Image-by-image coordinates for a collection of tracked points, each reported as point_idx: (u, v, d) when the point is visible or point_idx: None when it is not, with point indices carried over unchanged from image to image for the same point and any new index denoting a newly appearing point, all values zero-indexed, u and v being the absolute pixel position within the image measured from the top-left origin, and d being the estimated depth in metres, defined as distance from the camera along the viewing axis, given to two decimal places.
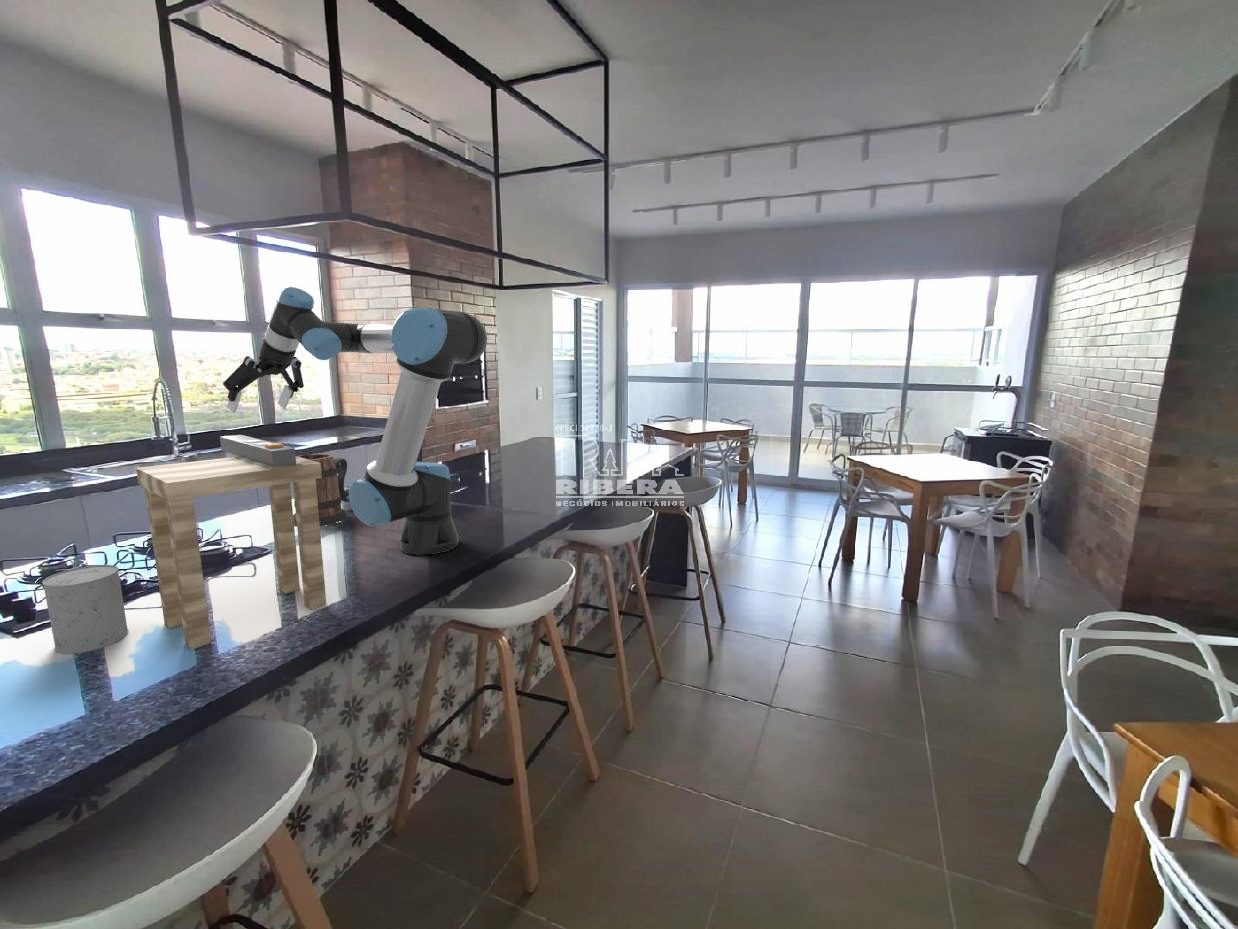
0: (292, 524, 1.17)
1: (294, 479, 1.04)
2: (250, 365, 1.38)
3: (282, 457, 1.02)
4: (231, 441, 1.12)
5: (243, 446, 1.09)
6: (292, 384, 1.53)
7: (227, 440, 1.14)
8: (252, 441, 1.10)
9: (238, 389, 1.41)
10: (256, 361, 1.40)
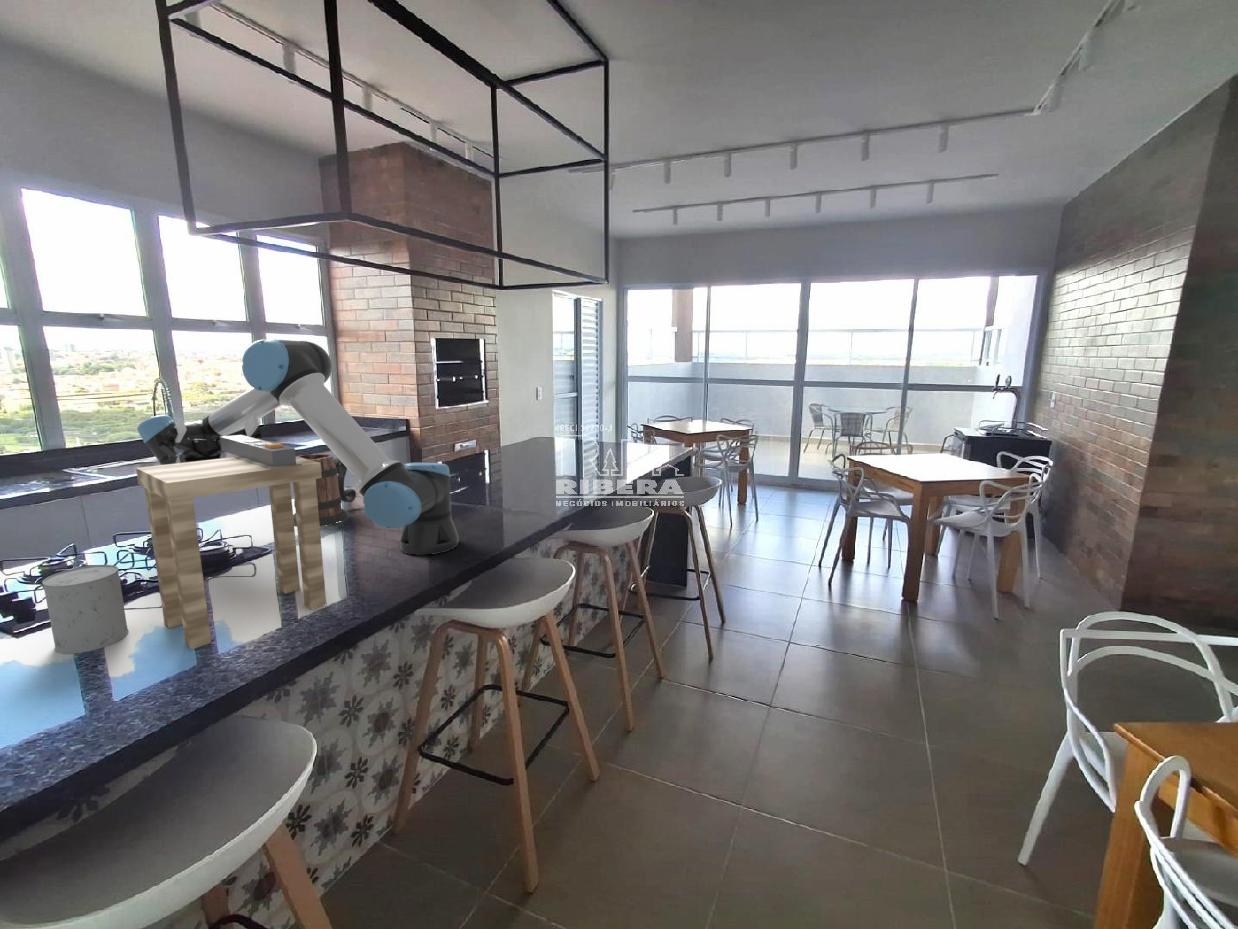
0: (292, 524, 1.17)
1: (294, 479, 1.04)
2: None
3: (282, 457, 1.02)
4: (231, 441, 1.12)
5: (243, 446, 1.09)
6: None
7: (227, 440, 1.14)
8: (252, 441, 1.10)
9: None
10: None
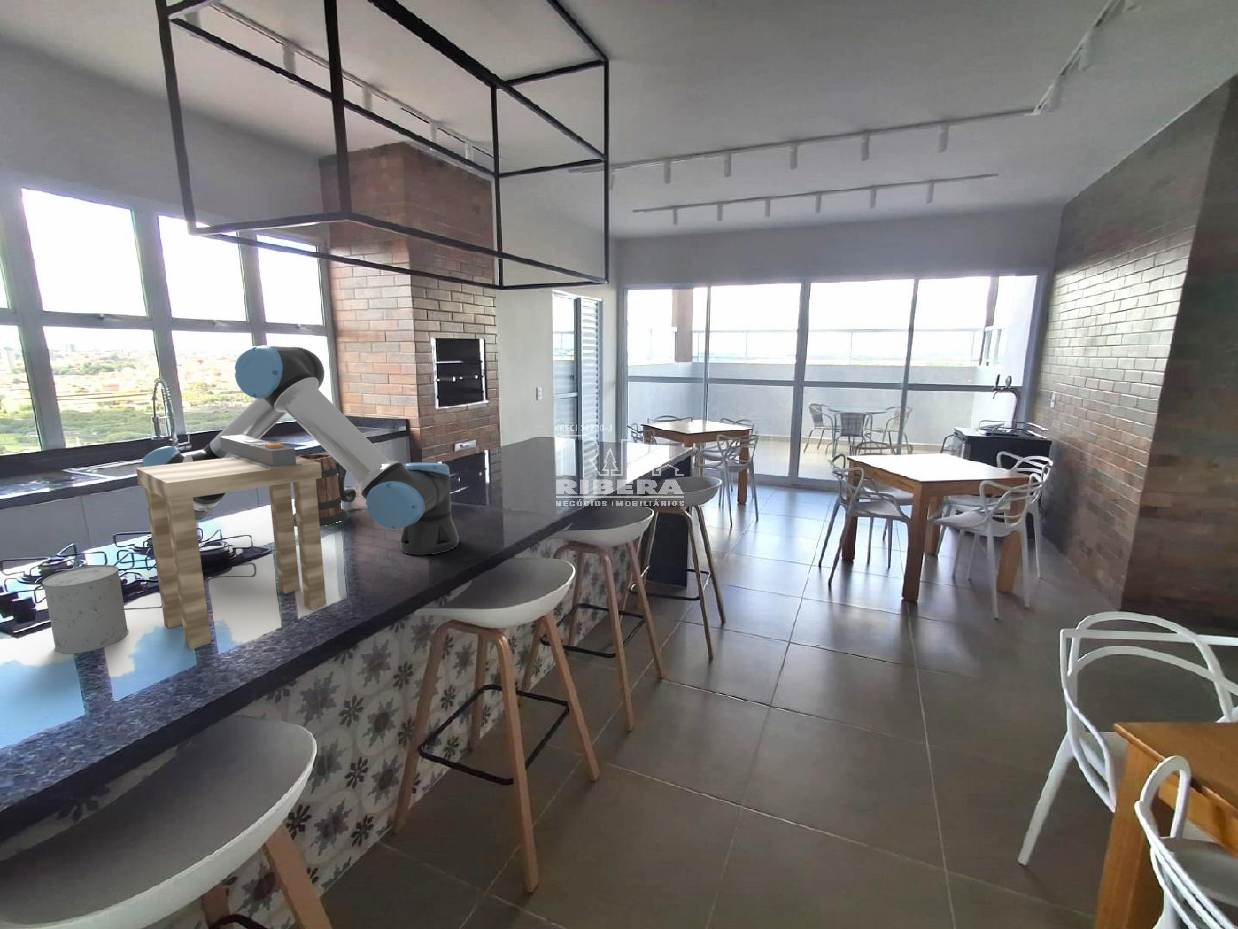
0: (292, 524, 1.17)
1: (294, 479, 1.04)
2: None
3: (282, 457, 1.02)
4: (231, 441, 1.12)
5: (243, 446, 1.09)
6: None
7: (227, 440, 1.14)
8: (252, 441, 1.10)
9: None
10: None
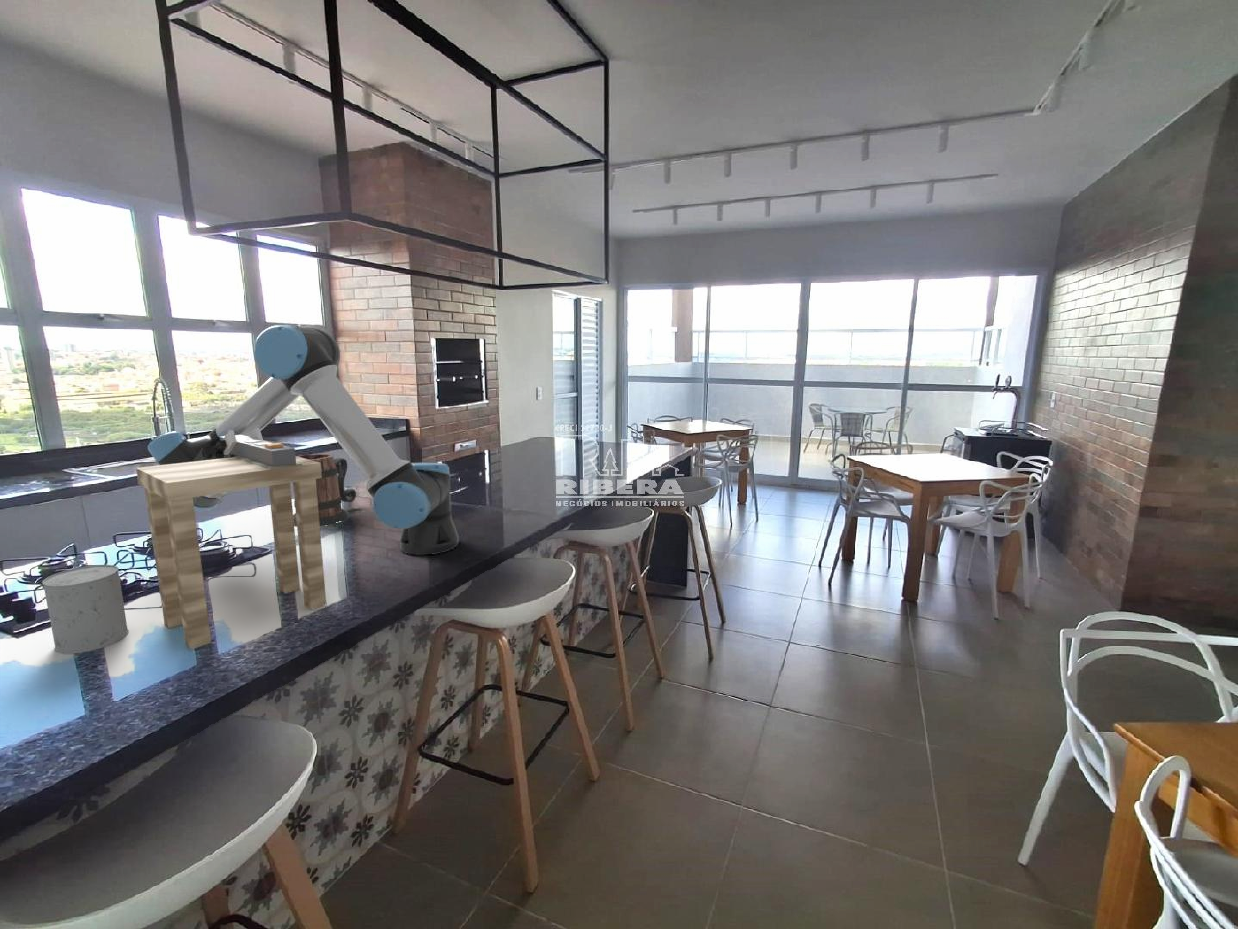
0: (292, 524, 1.17)
1: (294, 479, 1.04)
2: None
3: (282, 457, 1.02)
4: None
5: (243, 446, 1.09)
6: None
7: None
8: (252, 441, 1.10)
9: None
10: None
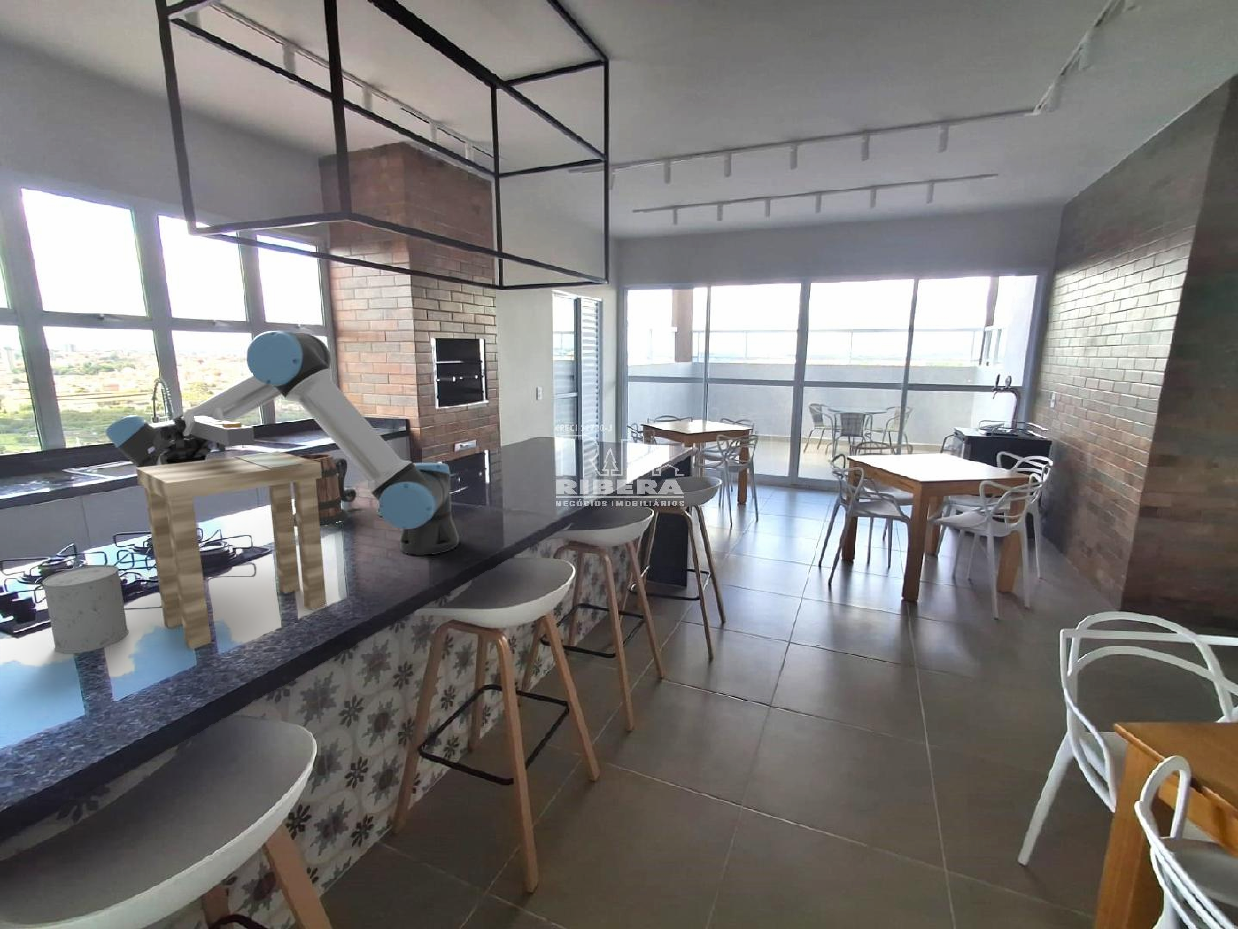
0: (292, 524, 1.17)
1: (294, 479, 1.04)
2: None
3: (239, 436, 0.97)
4: None
5: (201, 426, 1.04)
6: None
7: None
8: (211, 421, 1.05)
9: None
10: None
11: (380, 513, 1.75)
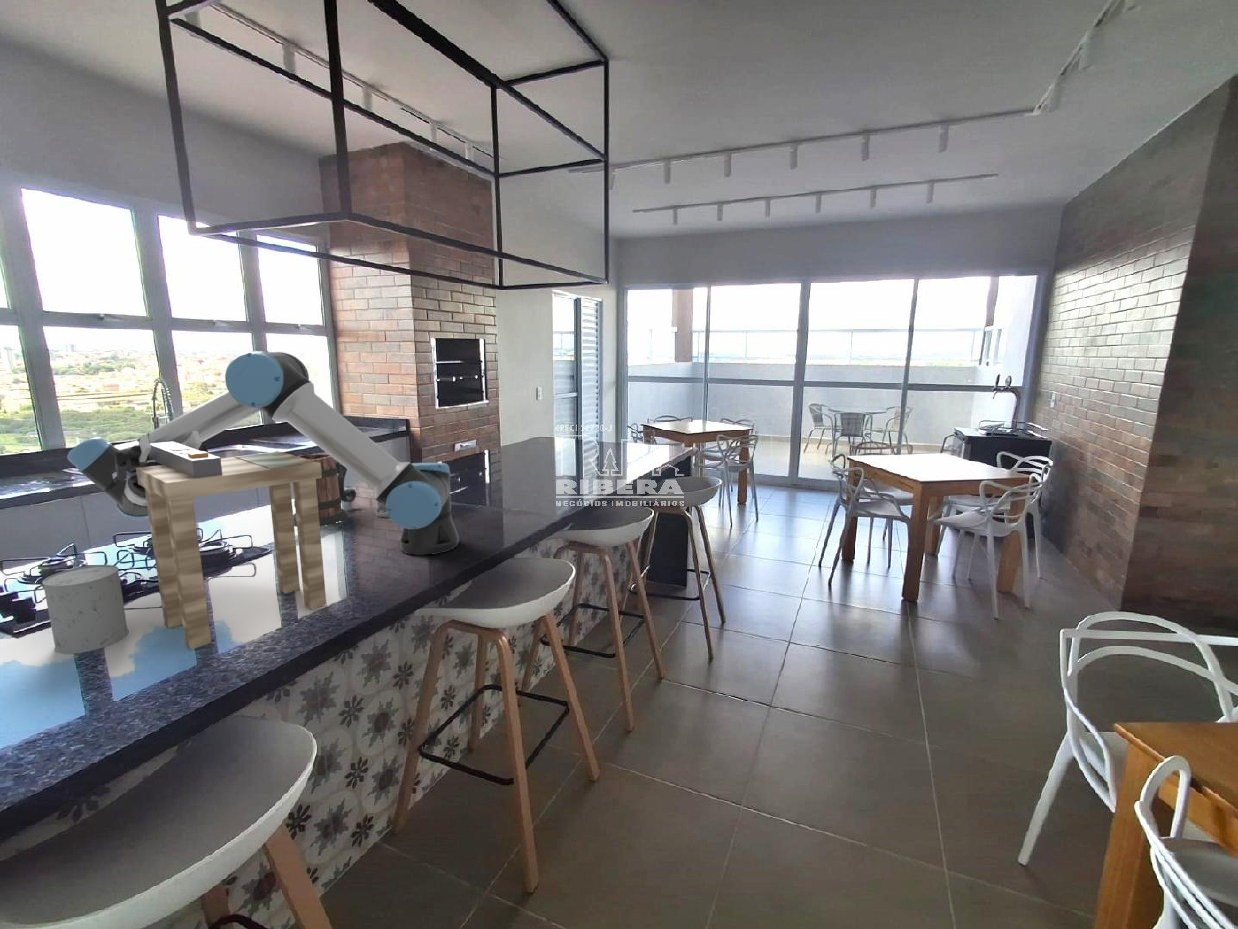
0: (292, 524, 1.17)
1: (294, 479, 1.04)
2: None
3: (205, 467, 0.93)
4: (157, 449, 1.03)
5: (167, 455, 0.99)
6: None
7: (154, 448, 1.04)
8: (178, 449, 1.01)
9: None
10: None
11: (379, 513, 1.74)
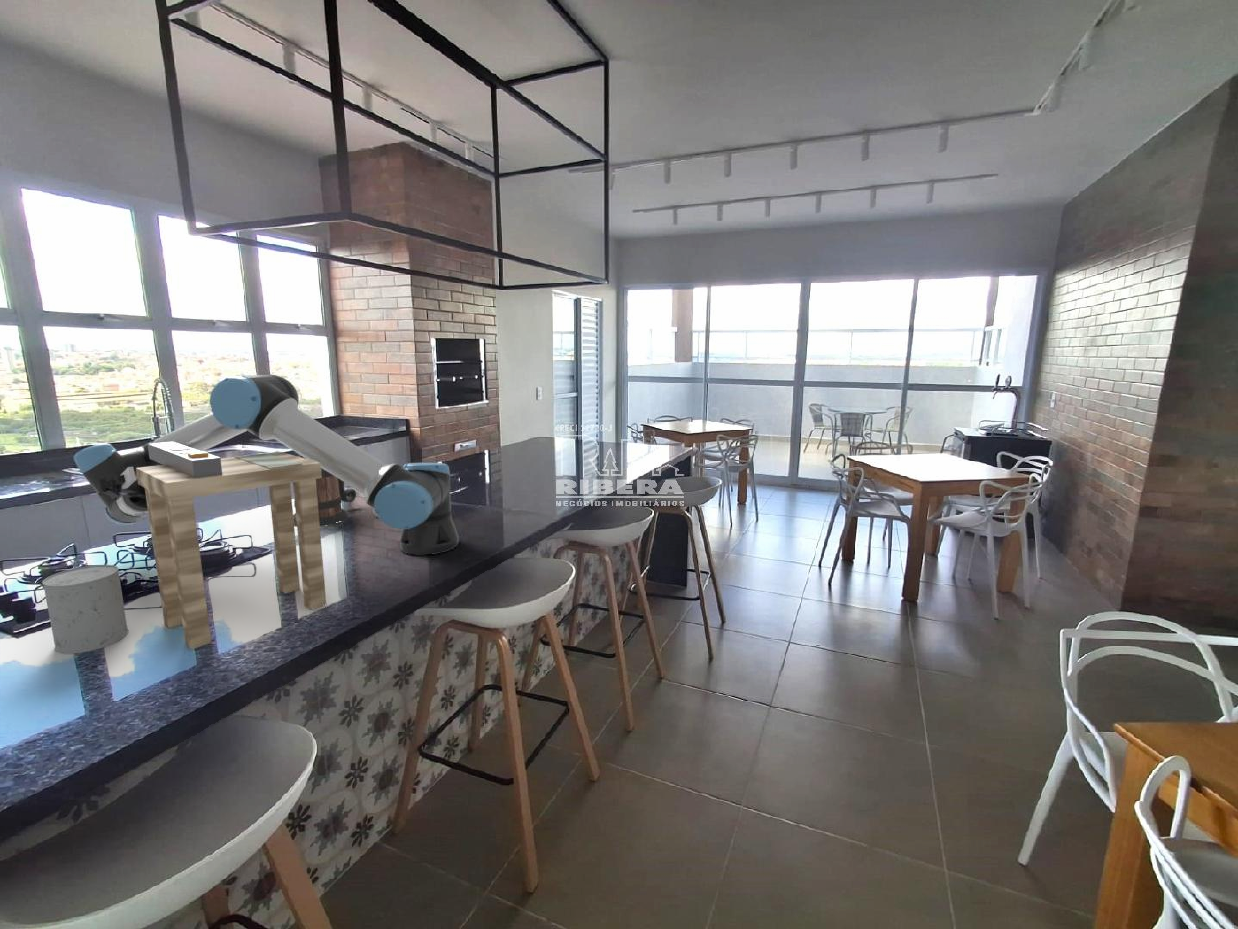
0: (292, 524, 1.17)
1: (294, 479, 1.04)
2: None
3: (205, 467, 0.93)
4: (157, 449, 1.03)
5: (167, 455, 0.99)
6: None
7: (154, 448, 1.04)
8: (178, 449, 1.01)
9: None
10: None
11: None
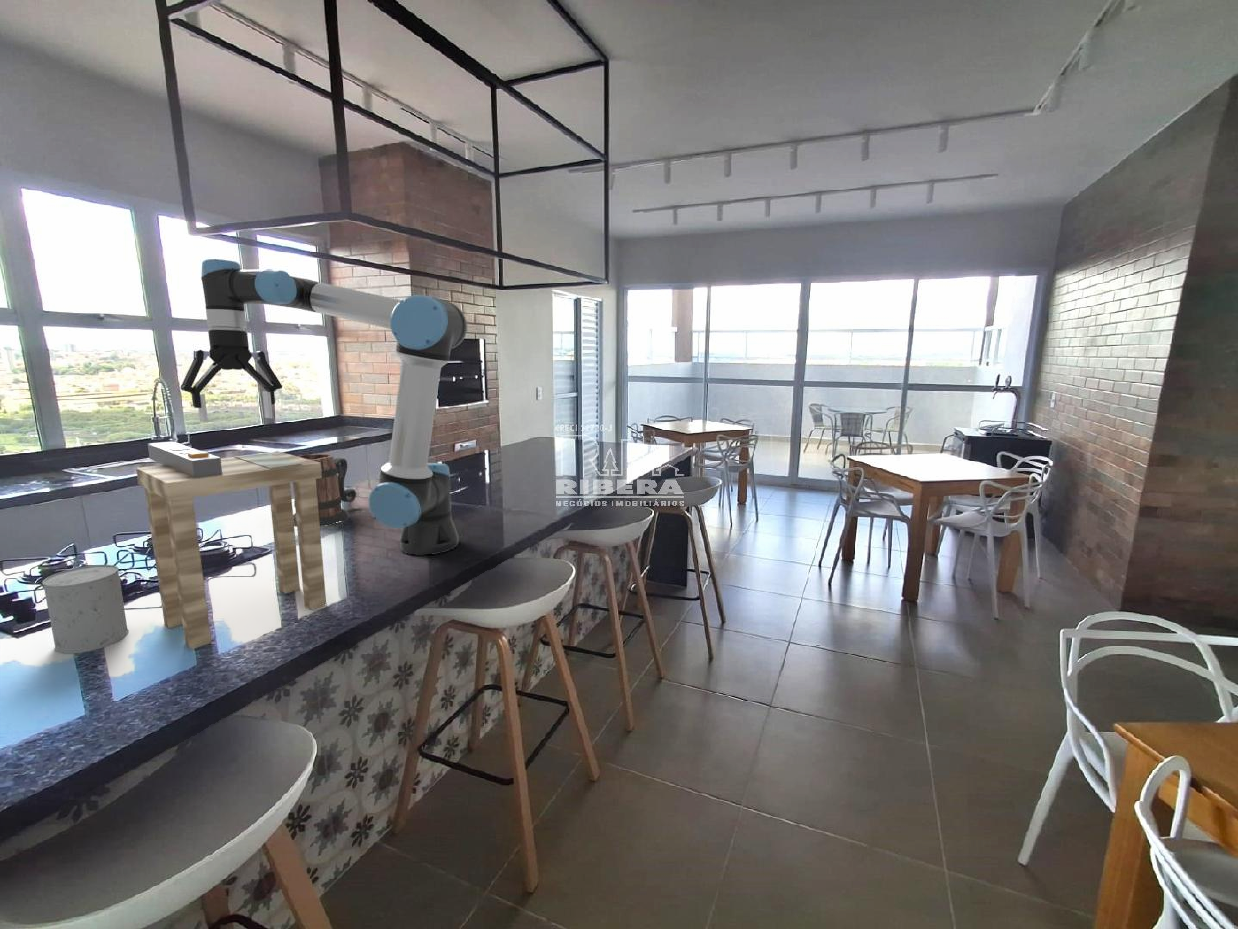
0: (292, 524, 1.17)
1: (294, 479, 1.04)
2: (198, 354, 1.24)
3: (205, 467, 0.93)
4: (157, 449, 1.03)
5: (167, 455, 0.99)
6: (266, 383, 1.35)
7: (154, 448, 1.04)
8: (178, 449, 1.01)
9: (197, 389, 1.24)
10: (206, 352, 1.25)
11: None
